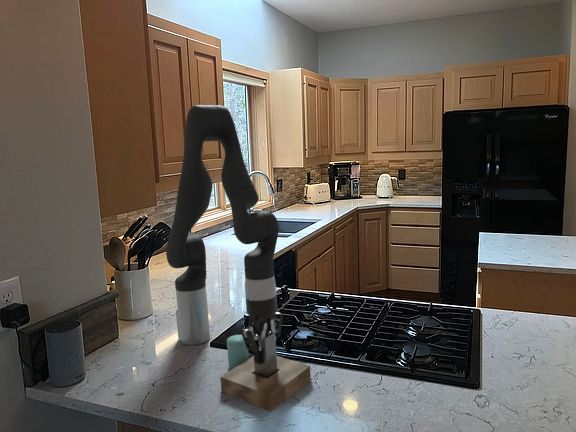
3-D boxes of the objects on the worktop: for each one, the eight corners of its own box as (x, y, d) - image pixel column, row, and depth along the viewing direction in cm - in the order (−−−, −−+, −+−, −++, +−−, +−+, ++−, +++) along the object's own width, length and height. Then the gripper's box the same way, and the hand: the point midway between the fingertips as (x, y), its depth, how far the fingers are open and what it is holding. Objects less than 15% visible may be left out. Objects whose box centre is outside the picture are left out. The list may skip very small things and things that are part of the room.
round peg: (224, 368, 128) (222, 340, 127) (238, 359, 133) (236, 333, 131) (239, 373, 125) (237, 345, 123) (253, 364, 129) (251, 337, 128)
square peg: (254, 372, 117) (252, 335, 115) (265, 366, 120) (262, 329, 118) (267, 377, 114) (264, 338, 113) (277, 370, 117) (275, 332, 116)
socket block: (221, 391, 116) (220, 376, 116) (262, 364, 129) (261, 351, 128) (271, 411, 107) (270, 395, 106) (310, 380, 119) (310, 365, 119)
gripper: (267, 283, 121) (271, 345, 124) (229, 300, 110) (234, 367, 113) (290, 287, 117) (293, 351, 120) (253, 305, 106) (258, 376, 109)
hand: (265, 359), depth 117 cm, fingers closed on square peg, 4 cm apart
